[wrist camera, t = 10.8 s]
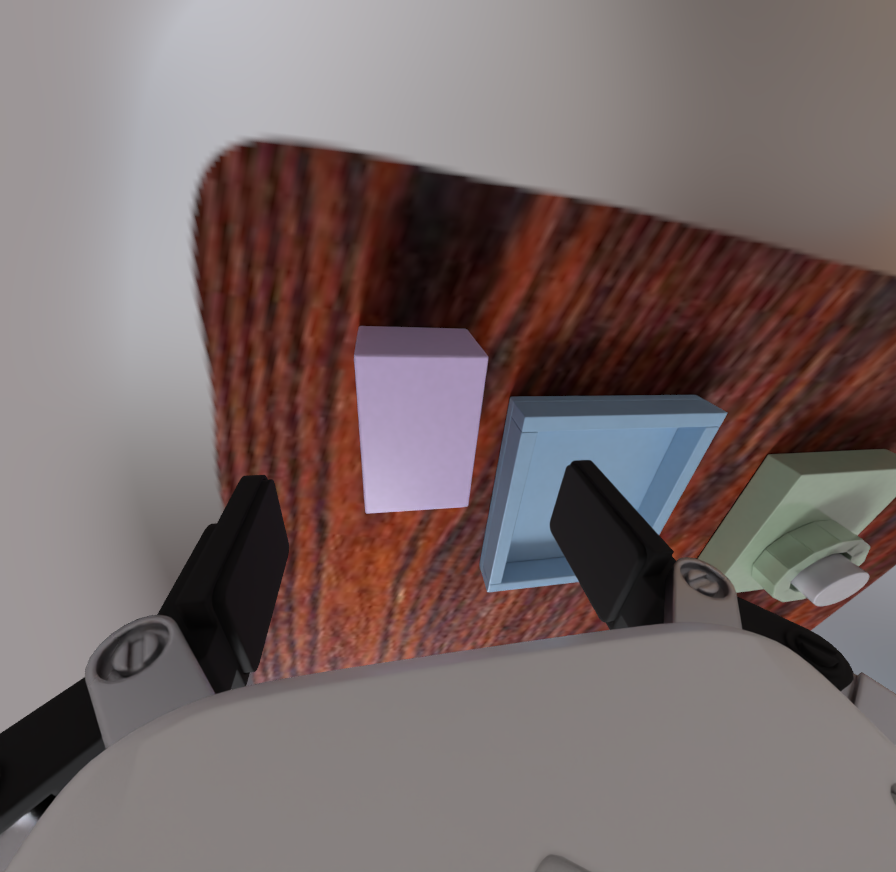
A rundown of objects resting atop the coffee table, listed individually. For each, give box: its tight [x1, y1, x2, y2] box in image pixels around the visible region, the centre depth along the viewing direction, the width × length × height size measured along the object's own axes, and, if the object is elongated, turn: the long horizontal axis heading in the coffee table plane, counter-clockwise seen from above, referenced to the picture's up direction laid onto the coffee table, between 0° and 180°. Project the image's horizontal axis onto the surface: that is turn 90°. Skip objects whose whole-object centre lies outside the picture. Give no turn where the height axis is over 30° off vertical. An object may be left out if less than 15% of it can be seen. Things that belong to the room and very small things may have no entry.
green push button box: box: [698, 449, 896, 602], centre depth 25 cm, size 12×10×4 cm
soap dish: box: [480, 395, 727, 592], centre depth 20 cm, size 13×11×2 cm
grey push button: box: [791, 553, 869, 606], centre depth 24 cm, size 4×4×2 cm
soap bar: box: [354, 326, 488, 513], centre depth 15 cm, size 7×4×4 cm, turn 176°
